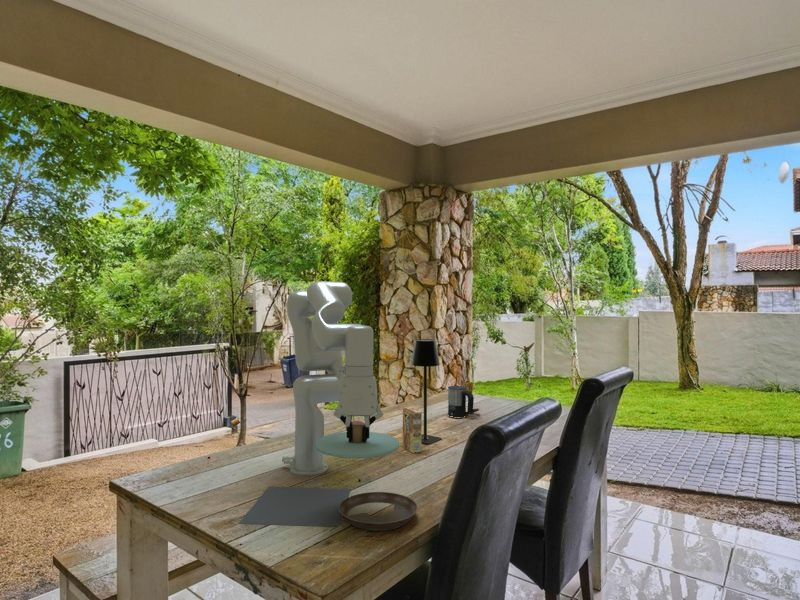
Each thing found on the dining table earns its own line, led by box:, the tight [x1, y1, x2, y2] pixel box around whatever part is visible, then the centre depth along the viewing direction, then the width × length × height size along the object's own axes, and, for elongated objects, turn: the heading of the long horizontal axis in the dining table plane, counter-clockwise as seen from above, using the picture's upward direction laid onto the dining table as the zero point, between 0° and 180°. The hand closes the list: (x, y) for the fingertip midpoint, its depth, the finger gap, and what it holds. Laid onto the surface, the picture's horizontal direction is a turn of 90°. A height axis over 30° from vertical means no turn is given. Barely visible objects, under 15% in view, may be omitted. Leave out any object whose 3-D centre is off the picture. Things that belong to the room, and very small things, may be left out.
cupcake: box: [345, 416, 365, 431], centre depth 204 cm, size 9×8×12 cm
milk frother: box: [447, 385, 480, 417], centre depth 248 cm, size 14×16×15 cm
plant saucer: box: [339, 491, 418, 531], centre depth 130 cm, size 21×21×3 cm
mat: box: [238, 485, 352, 528], centre depth 136 cm, size 25×25×1 cm
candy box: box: [402, 407, 423, 454], centre depth 190 cm, size 9×4×15 cm, turn 26°
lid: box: [316, 424, 400, 459], centre depth 131 cm, size 22×22×5 cm
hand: (357, 440), depth 131 cm, fingers closed on lid, 3 cm apart
